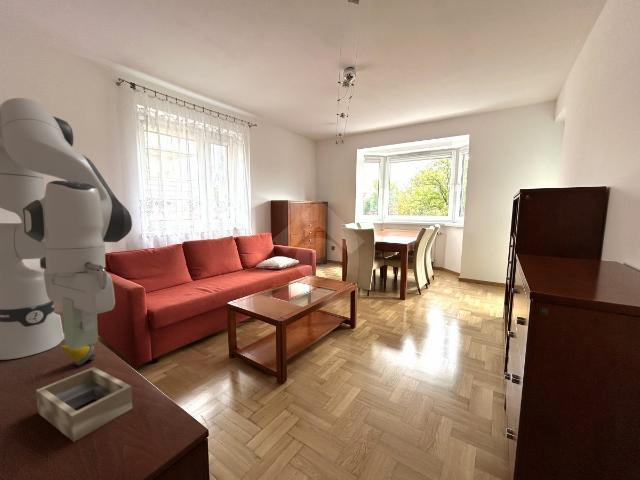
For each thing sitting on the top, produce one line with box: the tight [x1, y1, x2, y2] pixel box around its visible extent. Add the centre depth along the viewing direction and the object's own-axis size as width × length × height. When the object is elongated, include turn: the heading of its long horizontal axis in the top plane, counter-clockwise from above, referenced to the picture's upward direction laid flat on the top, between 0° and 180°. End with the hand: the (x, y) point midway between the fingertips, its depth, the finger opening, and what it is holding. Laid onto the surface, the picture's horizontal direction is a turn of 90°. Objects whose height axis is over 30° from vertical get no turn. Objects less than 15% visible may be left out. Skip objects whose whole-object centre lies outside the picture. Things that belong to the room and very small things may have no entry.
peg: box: [62, 297, 99, 350], centre depth 55 cm, size 4×4×10 cm
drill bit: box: [59, 344, 97, 366], centre depth 74 cm, size 5×5×10 cm
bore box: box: [35, 366, 133, 443], centre depth 57 cm, size 16×10×5 cm, turn 63°
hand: (81, 326), depth 55 cm, fingers closed on peg, 4 cm apart
